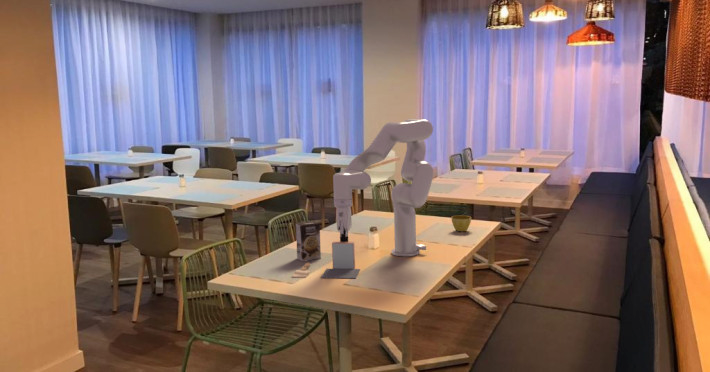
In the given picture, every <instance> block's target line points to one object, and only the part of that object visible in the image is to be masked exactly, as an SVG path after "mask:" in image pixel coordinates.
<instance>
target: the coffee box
mask: <svg viewBox="0 0 710 372" xmlns="http://www.w3.org/2000/svg"><path fill="white" fill-rule="evenodd" d="M320 227H321V226H320V222H318V221H315V220H312V221H303V222H295V231H296V233H295V234H296V237H295V238H296V258H297V260H300V261H301V262H307V261H314V260H320V259H321V258H322V253H321V228H320ZM313 259H314V260H313Z"/></svg>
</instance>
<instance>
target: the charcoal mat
mask: <svg viewBox="0 0 710 372" xmlns="http://www.w3.org/2000/svg"><path fill="white" fill-rule="evenodd" d="M360 271H361V268H355V269H333V268H326V269H325V270H324V271H323V273H322V274H321V277H320V279H349V280H350V279H354V280H355V279H357V277H358V275H359V273H360Z"/></svg>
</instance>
